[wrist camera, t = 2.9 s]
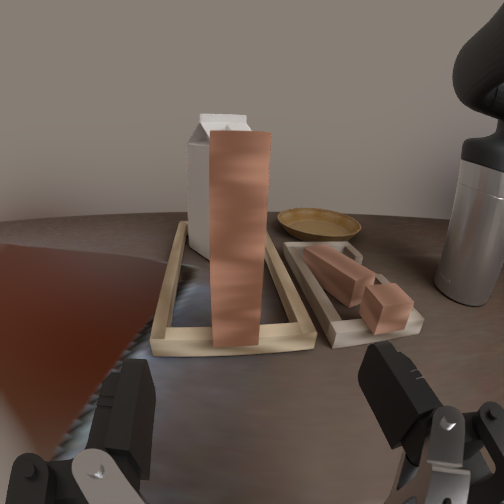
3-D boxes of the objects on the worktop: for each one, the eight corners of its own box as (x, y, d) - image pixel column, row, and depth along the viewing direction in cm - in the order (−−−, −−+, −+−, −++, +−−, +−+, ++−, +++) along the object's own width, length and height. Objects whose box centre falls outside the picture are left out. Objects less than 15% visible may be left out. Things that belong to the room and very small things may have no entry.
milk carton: (188, 247, 43) (186, 115, 35) (228, 237, 47) (230, 115, 39) (214, 265, 38) (215, 112, 30) (257, 252, 42) (263, 115, 34)
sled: (260, 230, 50) (265, 129, 43) (316, 355, 23) (352, 140, 16) (180, 231, 48) (178, 128, 41) (151, 363, 21) (121, 135, 14)
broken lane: (345, 252, 44) (350, 222, 42) (423, 338, 25) (439, 298, 23) (282, 253, 42) (285, 221, 40) (335, 355, 23) (348, 310, 21)
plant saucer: (374, 248, 46) (377, 234, 45) (292, 253, 43) (293, 236, 42) (336, 220, 59) (337, 208, 58) (267, 221, 56) (268, 207, 55)
